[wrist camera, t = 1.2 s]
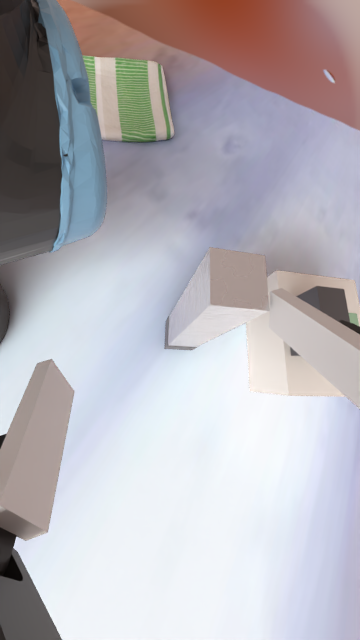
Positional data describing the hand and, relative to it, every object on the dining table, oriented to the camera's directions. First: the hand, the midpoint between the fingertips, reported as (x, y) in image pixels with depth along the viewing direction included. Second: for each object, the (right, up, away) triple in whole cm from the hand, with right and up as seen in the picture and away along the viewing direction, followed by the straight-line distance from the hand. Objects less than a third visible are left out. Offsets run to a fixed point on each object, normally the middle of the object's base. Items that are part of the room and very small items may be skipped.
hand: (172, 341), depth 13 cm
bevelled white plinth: (+15, -2, +20) cm, 25 cm away
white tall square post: (0, -1, +17) cm, 17 cm away
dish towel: (-13, +38, +25) cm, 48 cm away
